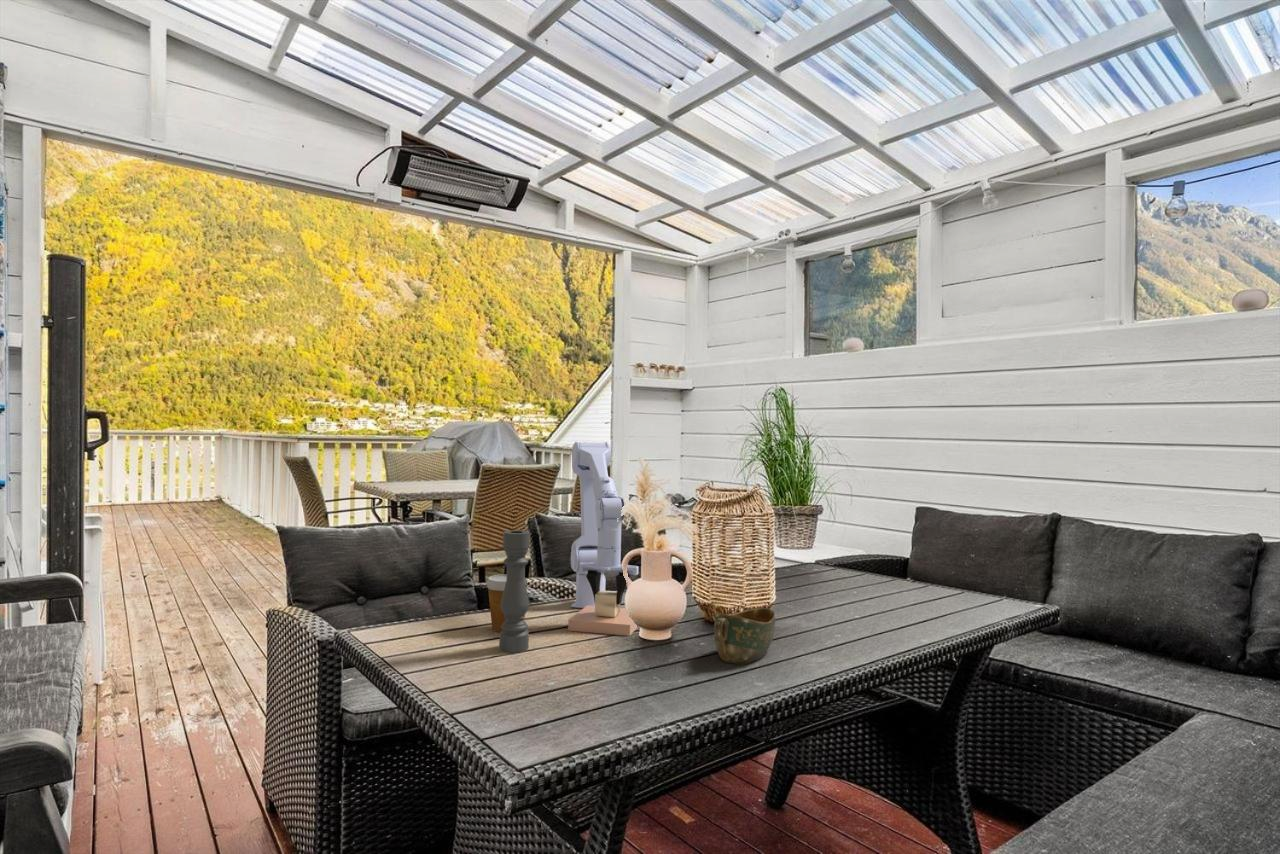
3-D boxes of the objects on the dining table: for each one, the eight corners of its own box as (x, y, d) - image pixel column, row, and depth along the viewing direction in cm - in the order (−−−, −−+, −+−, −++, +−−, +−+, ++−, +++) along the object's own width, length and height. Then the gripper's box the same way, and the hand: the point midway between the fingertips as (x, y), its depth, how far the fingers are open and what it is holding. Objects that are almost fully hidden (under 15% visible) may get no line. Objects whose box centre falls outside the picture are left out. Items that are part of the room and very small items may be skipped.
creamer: (686, 651, 157) (688, 604, 157) (762, 643, 166) (764, 598, 166) (718, 670, 146) (720, 619, 146) (798, 660, 154) (800, 612, 154)
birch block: (600, 610, 180) (600, 590, 180) (620, 612, 179) (620, 591, 179) (594, 615, 176) (595, 594, 176) (614, 617, 174) (615, 596, 174)
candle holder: (522, 653, 153) (525, 534, 154) (494, 651, 155) (497, 533, 155) (532, 645, 159) (535, 530, 160) (505, 643, 161) (508, 529, 161)
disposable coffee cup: (522, 634, 168) (523, 582, 168) (480, 633, 168) (482, 581, 168) (529, 623, 177) (530, 574, 177) (490, 622, 177) (491, 573, 177)
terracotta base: (586, 615, 187) (587, 605, 187) (644, 619, 183) (644, 609, 183) (568, 630, 172) (568, 619, 172) (629, 635, 169) (630, 624, 169)
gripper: (575, 547, 176) (574, 604, 175) (634, 551, 172) (632, 608, 172) (584, 543, 182) (583, 597, 182) (640, 546, 179) (639, 602, 179)
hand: (607, 602), depth 178 cm, fingers closed on birch block, 5 cm apart
